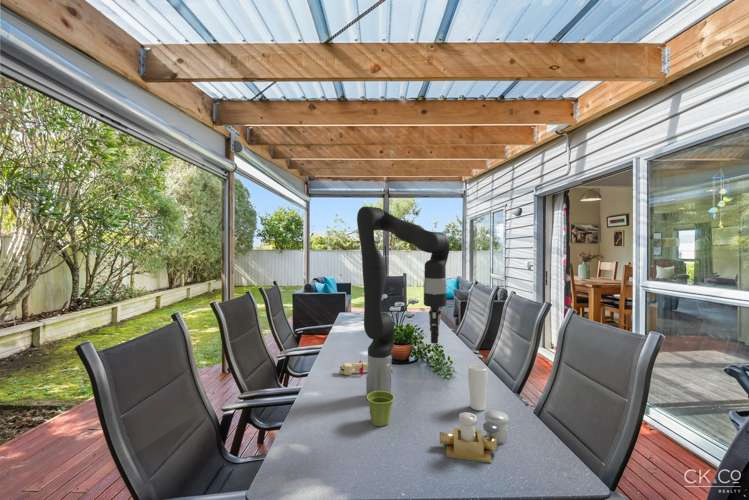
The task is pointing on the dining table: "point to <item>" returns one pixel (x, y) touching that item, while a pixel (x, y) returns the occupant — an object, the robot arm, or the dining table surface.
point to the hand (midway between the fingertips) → (434, 339)
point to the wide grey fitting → (501, 421)
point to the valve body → (471, 444)
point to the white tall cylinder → (477, 386)
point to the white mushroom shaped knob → (468, 426)
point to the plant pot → (380, 407)
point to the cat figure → (354, 368)
